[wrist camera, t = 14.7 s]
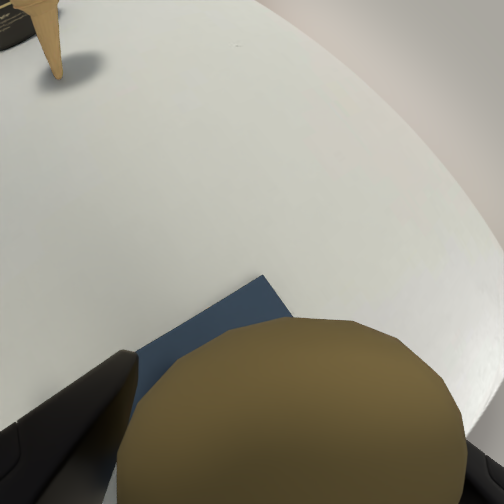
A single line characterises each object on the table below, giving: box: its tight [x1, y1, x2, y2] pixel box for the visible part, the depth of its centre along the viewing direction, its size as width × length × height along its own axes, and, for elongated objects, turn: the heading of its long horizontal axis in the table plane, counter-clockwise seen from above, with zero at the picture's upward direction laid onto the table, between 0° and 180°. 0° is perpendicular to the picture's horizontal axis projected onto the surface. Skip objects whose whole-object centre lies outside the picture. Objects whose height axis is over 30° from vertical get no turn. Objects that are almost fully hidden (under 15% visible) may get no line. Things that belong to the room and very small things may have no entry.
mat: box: [128, 275, 293, 425], centre depth 12 cm, size 10×9×1 cm
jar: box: [0, 0, 36, 51], centre depth 18 cm, size 10×10×8 cm
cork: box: [117, 317, 468, 504], centre depth 7 cm, size 6×6×11 cm
